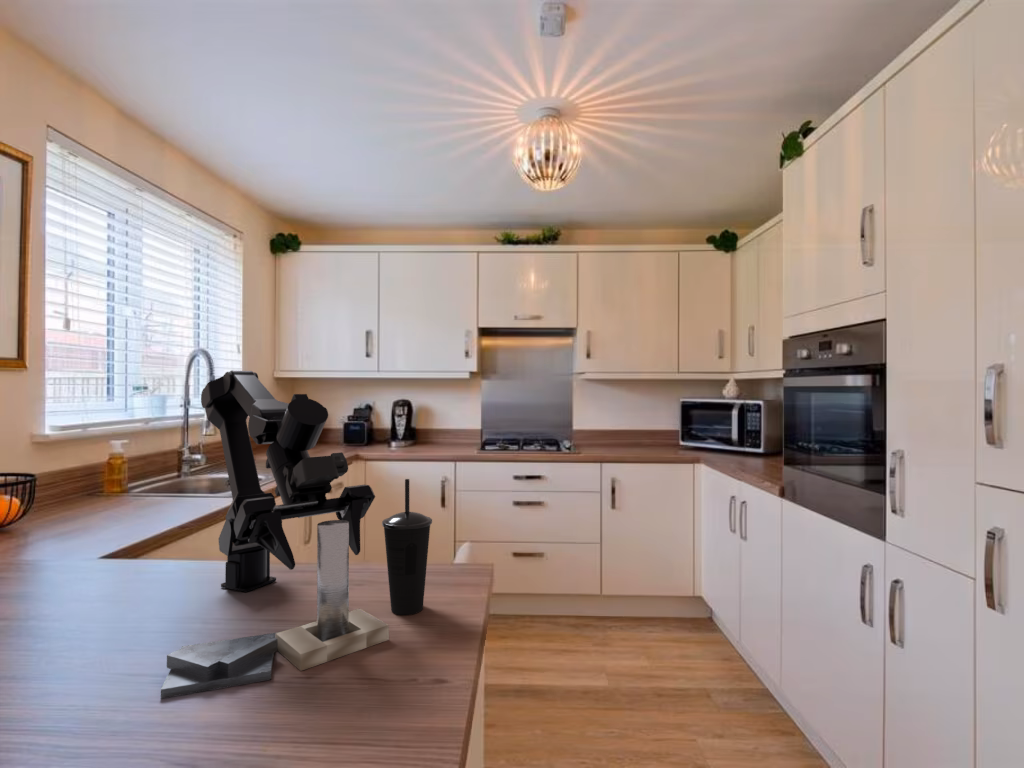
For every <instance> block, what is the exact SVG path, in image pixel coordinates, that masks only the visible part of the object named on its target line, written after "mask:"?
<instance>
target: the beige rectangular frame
mask: <svg viewBox="0 0 1024 768" xmlns="http://www.w3.org/2000/svg"><path fill="white" fill-rule="evenodd" d="M389 627H390V625H389V624H388V623H386V622H385V621H383V620H380V619H379V618H377V617H376V616H375V615H372V614H370V613H369V612H367V611H365V610H363V609H361V608H357V609H354V610H349V634H345V635H342V636H339V637H336V638H333V639H330V640H327V641H324V642H322V641H320V640H319V639H318V638H317V620H316V621H313V622H309V623H306V624H303V625H300V626H296V627H293V628H289V629H285V630H282V631H279V632H275V633H276V636H275V638H277V639H278V651H277V652H278V653H279V654H281V655H282V656H283V657H284V658H285V659H286V660H287V661H289V662H290V664H292V665H293V666H294V667H295V668H297V669H298V670H299V671H300V672H301V671H304V670H307V669H310V668H313V667H316V666H319V665H321V664H324V663H328V662H330V661H334V660H335V659H338V658H341V657H345V656H347V655H350V654H353V653H355V652H359V651H362V650H364V649H366V648H367V649H368V648H369V647H372V646H375V645H378V644H380V643H384V642H387V641H389V638H390V637H389V634H390V633H389V631H390V630H389Z"/></svg>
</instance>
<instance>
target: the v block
mask: <svg viewBox="0 0 1024 768" xmlns="http://www.w3.org/2000/svg"><path fill="white" fill-rule="evenodd" d="M276 633H277V632H273V633H265V634H258V635H257V634H256V635H251V636H244V637H239V638H238V637H237V638H231V639H223V640H218V641H217V640H215V641H212V642H211V641H210V642H203V643H197V644H190V645H188V644H187V645H183V646H181V648H179V649H178V650H175V651H173V652H170V653H169V654H166V668H167V669H169V672H168V674H167V676H166V678H165V680H164V683H163V684H162V685H161V686H162V687H161V688H160V699H166V698H173V697H180V696H185V695H190V694H196V693H201V692H202V693H203V692H207V691H212V690H217V689H219V690H220V689H225V688H231V687H236V686H243V685H249V684H254V683H255V684H256V683H259V682H265V681H271V678H272V671H273V670H272V669H273V662H274V655H275V652H279V651H278V639H277V638H276Z"/></svg>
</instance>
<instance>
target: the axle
mask: <svg viewBox="0 0 1024 768" xmlns="http://www.w3.org/2000/svg"><path fill="white" fill-rule="evenodd" d="M316 527H317V528H316V531H317V535H316V538H317V539H316V540H317V541H316V542H317V546H316V547H317V548H316V549H317V550H316V552H317V553H316V555H317V556H316V558H317V559H316V560H317V561H316V566H317V567H316V570H317V571H316V577H317V578H316V579H317V580H316V581H317V582H316V584H317V585H316V592H317V593H316V600H317V601H316V606H317V607H316V612H317V613H316V621H317V638H318V639H319V640H320V641H322V642H324V641H327V640H330V639H333V638H336V637H339V636H342V635H345V634H349V611H350V602H349V601H350V592H349V591H350V590H349V589H350V560H349V559H350V555H349V554H350V546H349V522H348V521H345V520H339V519H334V520H333V519H331V520H325V521H321V522H318V523H317V526H316Z"/></svg>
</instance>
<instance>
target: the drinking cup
mask: <svg viewBox="0 0 1024 768" xmlns="http://www.w3.org/2000/svg"><path fill="white" fill-rule="evenodd" d="M381 521H382V522H381V526H382V527H383V530H384V531H383V533H384V543H385V554H386V565H387V567H386V568H387V578H388V589H389V590H388V591H389V598H390V599H389V600H390V601H389V602H390V609H391V613H392V614H395V615H398V616H410V615H415V614H417V613H420V612H421V611H423V608H424V599H425V587H426V577H427V568H428V567H427V566H428V556H429V555H428V553H429V544H430V542H429V541H430V533H431V532H430V530H431V525H432V523H433V519H432V518H431V517H429V516H426V515H425V514H423V513H421V512H416V511H415V512H414V511H410V478H405V479H404V511H403V512H399V513H398V512H397V513H395V514H393V515H391V516H389V517H387V518H385V519H383V520H381Z"/></svg>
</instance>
